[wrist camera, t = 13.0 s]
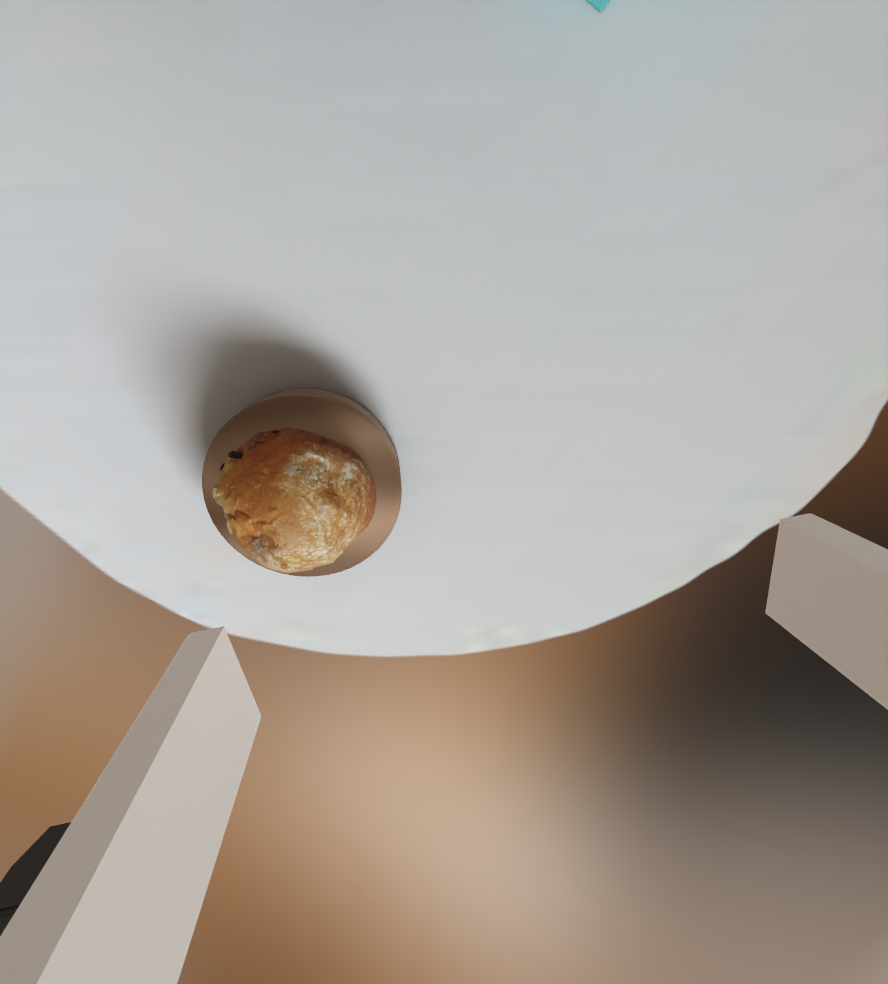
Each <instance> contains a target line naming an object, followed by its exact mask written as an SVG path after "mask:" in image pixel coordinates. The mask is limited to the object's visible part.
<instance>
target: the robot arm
mask: <svg viewBox="0 0 888 984" xmlns="http://www.w3.org/2000/svg"><path fill="white" fill-rule="evenodd" d="M766 614H767V615H769V616H770V617H771V618H772V619H774V620H775V621H776V622H778V623H779V624H780V625H781V626H782V627H784V628H785V629H786V630H788V631H789V632H790V633H791V634H793V635H794V636H795V637H796V638H798V639H799V640H800V641H801V642H803V643H804V644H805V645H807V646H808V647H809V648H810V649H812V650H813V651H814V652H815V653H817V654H818V655H819V656H821V657H822V658H823V659H824V660H826V661H827V662H828V663H829V664H831V665H832V666H833V667H834V668H836V669H837V670H838V671H839V672H841V673H842V674H843V675H844V676H846V677H847V678H848V679H850V680H851V681H852V682H853V683H855V684H856V685H857V686H858V687H860V688H861V689H862V690H863V691H865V692H866V693H867V694H869V695H870V696H871V697H872V698H874V699H875V700H876V701H877V702H879V703H880V704H881V705H882V706H884V707H885V708H886V709H888V550H887V549H885V548H883V547H881V546H879V545H876V544H875V543H873V542H870V541H868V540H866V539H864V538H862V537H860V536H858V535H856V534H853V533H851V532H849V531H847V530H845V529H842V528H841V527H839V526H836V525H834V524H832V523H830V522H828V521H826V520H824V519H821V518H819V517H817V516H815V515H813V514H805V515H799V516H794V517H789V518H784V519H780V524H779V530H778V537H777V543H776V550H775V556H774V562H773V568H772V575H771V581H770V587H769V594H768V600H767V607H766ZM260 718H261V715H260V712H259V710H258V707H257V705H256V702H255V700H254V698H253V695H252V693H251V690H250V688H249V686H248V683H247V681H246V678H245V676H244V674H243V671H242V669H241V666H240V664H239V662H238V659H237V657H236V654H235V652H234V650H233V647H232V645H231V642H230V640H229V638H228V635H227V633H226V630H225V628H224V627H219V628H214V629H209V630H203V631H198V632H193V633H189V634H188V636H187V637H186V639H185V641H184V642H183V644H182V645H181V647H180V649H179V650H178V652H177V653H176V655H175V657H174V658H173V660H172V661H171V663H170V665H169V666H168V668H167V669H166V671H165V673H164V674H163V676H162V677H161V679H160V681H159V682H158V684H157V685H156V687H155V689H154V690H153V692H152V694H151V695H150V697H149V698H148V700H147V702H146V703H145V705H144V707H143V708H142V710H141V711H140V713H139V715H138V716H137V718H136V719H135V721H134V723H133V724H132V726H131V727H130V729H129V731H128V732H127V734H126V735H125V737H124V739H123V740H122V742H121V743H120V745H119V747H118V748H117V750H116V751H115V753H114V755H113V756H112V758H111V759H110V761H109V763H108V764H107V766H106V767H105V769H104V771H103V772H102V774H101V775H100V777H99V779H98V780H97V782H96V784H95V785H94V787H93V789H92V790H91V792H90V793H89V795H88V796H87V798H86V800H85V801H84V803H83V804H82V806H81V808H80V809H79V811H78V812H77V814H76V816H75V817H74V819H73V821H72V822H70V823H65V824H61V825H56V826H51V827H49V828H48V830H47V831H46V832H45V833H44V834H43V835H42V836H41V837H40V838H39V839H38V840H37V841H36V842H35V843H34V844H33V845H32V846H31V847H30V848H29V849H28V850H27V851H26V852H25V853H24V854H23V856H21V857H20V858H19V860H18V861H17V862H16V863H15V864H14V865H13V866H12V867H11V868H10V870H9V871H8V872H7V874H6V875H5V877H4V878H3V880H2V881H1V883H0V984H177V982H178V979H179V976H180V973H181V970H182V966H183V963H184V960H185V957H186V954H187V951H188V947H189V944H190V941H191V938H192V935H193V931H194V928H195V925H196V922H197V918H198V915H199V912H200V909H201V906H202V903H203V900H204V896H205V893H206V890H207V887H208V884H209V880H210V877H211V874H212V871H213V868H214V865H215V861H216V858H217V855H218V852H219V849H220V846H221V842H222V839H223V836H224V833H225V830H226V826H227V823H228V820H229V817H230V814H231V811H232V807H233V804H234V801H235V798H236V794H237V791H238V788H239V785H240V782H241V778H242V776H243V772H244V769H245V766H246V763H247V760H248V757H249V753H250V750H251V747H252V744H253V741H254V737H255V734H256V731H257V728H258V724H259V721H260Z"/></svg>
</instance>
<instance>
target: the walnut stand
mask: <svg viewBox="0 0 888 984" xmlns="http://www.w3.org/2000/svg"><path fill="white" fill-rule="evenodd" d="M284 427H285V428H292V429H301V430H305V431H308V432H312V433H315V434H318V435H321V436H324V437H326V438H328V439H332V440H335V441H337V442H338V443H341V444H344V445H346V446H347V447H349V448H351V449H352V450H354V451H355V452H356V453H357V454H358V455H359V456H360V457H361V459H362V460H363V461H364V463H365V464H366V466H367V467H368V469H369V470H370V472H371V475H372V477H373V480H374V483H375V487H376V498H377V503H376V508H375V512H374V515H373V517H372V520H371V522H370V523H369V525H368V526H367V527H366V529H365V530H364V531H363V532H362V533H361V534H360V535H359V536H358V537H357V538H356V539H355V540H354V541H353V542H352V543H351V544H350V545H349V546H348V547H347V548H346V549H344V550H343V553H342V554H341V555H340V556H339V557H338V558H336V559H335V561H334V562H333V563H330V564H326V565H323V566H319V567H315V568H313V569H312V570H307V571H302V572H293V573H283V574H288V575H294V576H322V575H329V574H333V573H337V572H341V571H343V570H346V569H349V568H351V567H353V566H355V565H357V564H359V563H361V562H362V561H364V560H365V559H367V558H368V557H369V556H371V555H372V554H373V553H374V552H375V551H376V550H377V549H378V548H379V547H380V546H381V545H382V544H383V543H384V542H385V540H386V539H387V537H388V536H389V534H390V533H391V531H392V529H393V527H394V525H395V523H396V520H397V517H398V514H399V510H400V504H401V477H400V467H399V459H398V456H397V452H396V449H395V446H394V444H393V442H392V439H391V438H390V436H389V434H388V433H387V431H386V429H385V428H384V427H383V425H382V424H381V423H380V422H379V420H378V419H377V418H376V417H375V416H374V415H373V414H372V413H371V412H369V411H368V410H367V409H366V408H364V407H363V406H362V405H360V404H359V403H357V402H355V401H354V400H352V399H350V398H348V397H346V396H343V395H341V394H339V393H335V392H332V391H328V390H323V389H317V388H294V389H287V390H283V391H279V392H276V393H273V394H270V395H268V396H266V397H264V398H262V399H260V400H258V401H257V402H255V403H253V404H252V405H250V406H249V407H247V408H246V409H244V410H243V411H241V412H240V413H239V414H237V415H236V416H235V417H233V418H232V419H231V420H229V421H228V422H227V424H226V425H225V426H224V427H223V428H222V429H221V430H220V431H219V433H218V434H217V435H216V437H215V438H214V440H213V441H212V444H211V446H210V448H209V450H208V452H207V455H206V458H205V462H204V467H203V474H202V488H203V494H204V500H205V503H206V507H207V510H208V512H209V514H210V517H211V519H212V521H213V523H214V524H215V526H216V528H217V529H218V531H219V532H220V533H221V535H222V536H223V537H224V538H225V539H226V541H227V542H228V543H229V544H230V545H231V546H232V547H233V548H234V549H236V550H237V551H238V552H239V553H241V554H242V555H243V556H245V557H246V558H248V559H249V560H251V561H253V562H254V563H256V564H258V565H260V566H263V565H261V564H260V563H259V562H257V561H256V560H254V559H253V558H252V557H251V556H250V555H249V554H248V553H247V552H246V551H245V550H244V549H243V548H242V546H241V545H240V544H239V543H238V542H237V540H236V539H235V538H234V536H233V535H232V534H230V532H229V531H228V528H227V519H226V518H225V516H224V515H225V513H224V510H223V508H222V506H220V505H219V504H217V502H216V500H215V498H214V497H213V493H212V491H213V486H214V485H216V484H218V483H219V482H220V478H219V477H217V476H218V475H219V474H220V472H221V470H220V468H221V465H222V464H224V463H225V462H226V459H227V455H228V453H229V452H230V451H237V450H238V449H239V448H240V446H242V445H243V444H244V443H246V442H247V441H248V440H249V439H251V438H252V437H253V436H254V435H255V434H258V433H260V432H266V431H273V430H275V429H278V428H284ZM263 567H264V566H263ZM265 568H266V567H265ZM267 569H269V568H267ZM270 570H272V569H270ZM273 571H275V570H273ZM276 572H278V571H276ZM279 573H281V572H279Z"/></svg>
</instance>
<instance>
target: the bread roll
mask: <svg viewBox="0 0 888 984" xmlns="http://www.w3.org/2000/svg"><path fill="white" fill-rule="evenodd" d="M220 470H221V472H220V474H219V475H218V476H217V477H219V478H220V482H219V483H218V484H216V485H214V486H213V491H212V493H213V497H214V498H215V500H216V502H217V504H219V505H220V506H222V508H223V510H224V513H225V515H224V516H225V518H226V519H227V528H228V531H229V532H230V534H232V535H233V536H234V538H235V539H236V540H237V542H238V543H239V544H240V545H241V546H242V548H243V549H244V550H245V551H246V552H247V553H248V554H249V555H250V556H251V557H252V558H253V559H254V560H256V561H257V562H259V563H260V564H261V565H263V566H264V567H266V568H269V569H272V570H275V571H278V572H281V573H293V572H302V571H307V570H312V569H313V568H315V567H319V566H323V565H326V564H330V563H333V562H334V561H335V559H336V558H338V557H339V556H340V555H341V554H342V553H343V550H344V549H346V548H347V547H348V546H349V545H350V544H351V543H352V542H353V541H354V540H355V539H356V538H357V537H358V536H359V535H360V534H361V533H362V532H363V531H364V530H365V529H366V527H367V526H368V525H369V523H370V522H371V520H372V517H373V515H374V512H375V508H376V503H377V498H376V487H375V483H374V480H373V477H372V475H371V472H370V470H369V469H368V467H367V466H366V464H365V463H364V461H363V460H362V459H361V457H360V456H359V455H358V454H357V453H356V452H355V451H354V450H352V449H351V448H349V447H347V446H346V445H344V444H341V443H338V442H337V441H335V440H332V439H328V438H326V437H324V436H321V435H318V434H315V433H312V432H308V431H305V430H301V429H292V428H285V427H284V428H278V429H275V430H273V431H266V432H260V433H258V434H255V435H254V436H253V437H252V438H251V439H249V440H248V441H247V442H246V443H244V444H243V445H242V446H240V448H239V449H238V450H237V451H230V452H229V453H228V455H227V459H226V462H225V463H224V464H222V465H221V468H220Z"/></svg>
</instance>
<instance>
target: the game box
mask: <svg viewBox="0 0 888 984" xmlns="http://www.w3.org/2000/svg"><path fill="white" fill-rule="evenodd" d="M587 1H588V2H589V3H590V4H591V5H592V6H594V7H595V8H596V9H597V10H598V11H599V12H603V10H604V8H605V7H606V5H607V4H608V3H609V2H610V1H611V0H587Z"/></svg>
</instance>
